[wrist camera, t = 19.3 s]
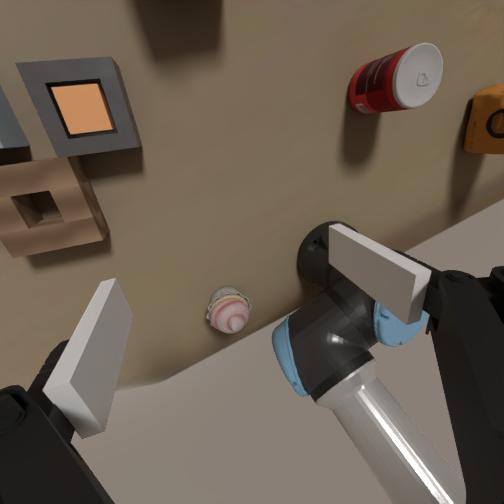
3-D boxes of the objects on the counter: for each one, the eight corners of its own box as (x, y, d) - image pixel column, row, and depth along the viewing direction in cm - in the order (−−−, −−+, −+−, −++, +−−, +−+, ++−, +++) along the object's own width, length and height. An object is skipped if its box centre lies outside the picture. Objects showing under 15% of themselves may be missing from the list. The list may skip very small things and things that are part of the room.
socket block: (109, 230, 41) (102, 240, 37) (29, 246, 39) (13, 258, 35) (78, 154, 36) (66, 157, 32) (-18, 167, 34) (-43, 172, 30)
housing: (142, 145, 38) (138, 146, 34) (70, 155, 36) (58, 158, 32) (118, 65, 33) (111, 56, 29) (35, 72, 31) (15, 62, 27)
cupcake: (200, 284, 51) (205, 315, 42) (244, 276, 53) (257, 304, 44) (206, 319, 55) (212, 354, 46) (246, 310, 57) (259, 342, 48)
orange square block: (117, 129, 35) (112, 129, 32) (79, 134, 34) (70, 134, 31) (104, 88, 33) (97, 83, 30) (62, 92, 32) (51, 87, 29)
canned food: (384, 108, 46) (440, 101, 36) (347, 119, 45) (394, 114, 35) (386, 58, 42) (448, 36, 33) (345, 68, 41) (397, 48, 32)
